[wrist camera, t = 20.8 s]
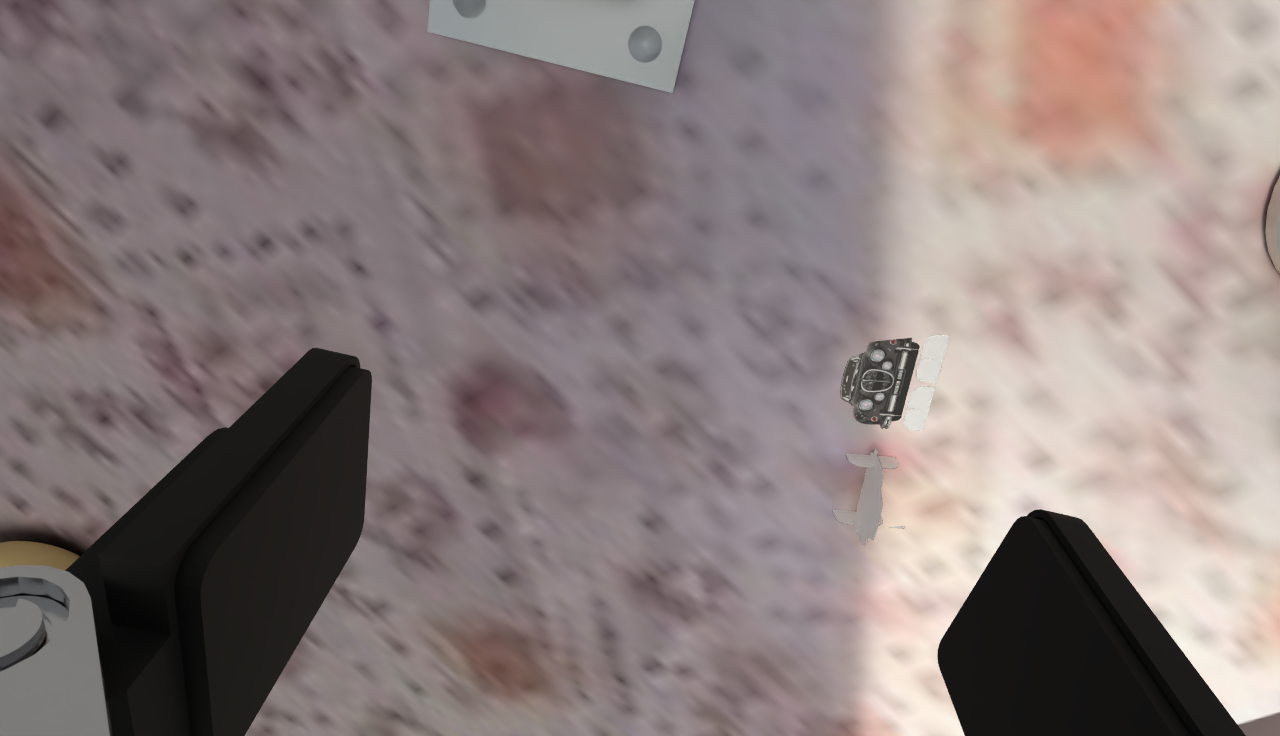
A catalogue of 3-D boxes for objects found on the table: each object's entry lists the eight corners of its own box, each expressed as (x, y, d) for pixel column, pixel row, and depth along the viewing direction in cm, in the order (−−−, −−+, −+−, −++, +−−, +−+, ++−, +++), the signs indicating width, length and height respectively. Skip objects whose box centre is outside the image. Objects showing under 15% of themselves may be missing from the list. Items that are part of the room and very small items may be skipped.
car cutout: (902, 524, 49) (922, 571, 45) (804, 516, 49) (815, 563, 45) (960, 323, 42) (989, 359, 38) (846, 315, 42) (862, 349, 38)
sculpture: (145, 646, 58) (40, 775, 49) (-8, 610, 57) (-146, 734, 48) (139, 544, 53) (20, 667, 43) (-29, 502, 52) (-190, 618, 42)
